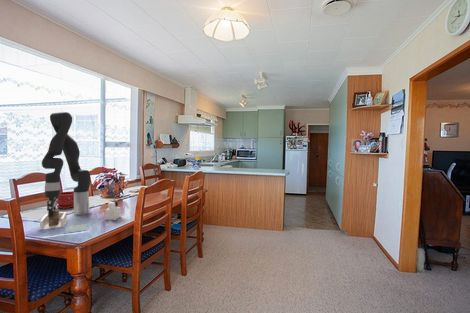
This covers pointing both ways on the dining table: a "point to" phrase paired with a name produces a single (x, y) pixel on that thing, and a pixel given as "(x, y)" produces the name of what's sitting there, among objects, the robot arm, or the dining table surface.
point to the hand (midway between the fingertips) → (52, 214)
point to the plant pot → (65, 200)
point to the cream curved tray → (62, 221)
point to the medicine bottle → (112, 211)
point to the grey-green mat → (76, 228)
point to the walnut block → (54, 218)
